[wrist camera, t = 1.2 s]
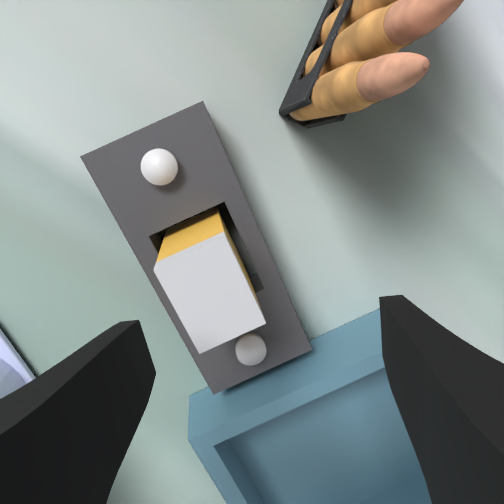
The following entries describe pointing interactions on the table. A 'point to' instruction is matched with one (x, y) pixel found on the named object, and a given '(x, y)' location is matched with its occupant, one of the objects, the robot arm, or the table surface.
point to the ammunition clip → (361, 57)
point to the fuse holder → (187, 205)
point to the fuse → (207, 281)
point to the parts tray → (311, 429)
